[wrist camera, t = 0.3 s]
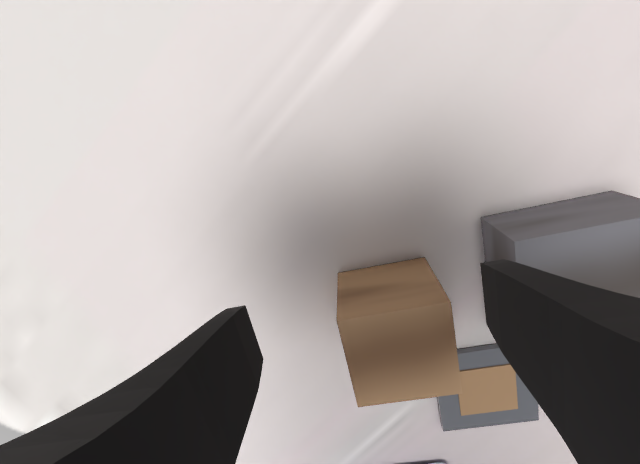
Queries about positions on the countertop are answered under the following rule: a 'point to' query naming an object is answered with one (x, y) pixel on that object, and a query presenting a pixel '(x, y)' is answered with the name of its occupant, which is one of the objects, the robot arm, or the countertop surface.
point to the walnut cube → (397, 333)
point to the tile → (486, 392)
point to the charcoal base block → (573, 240)
